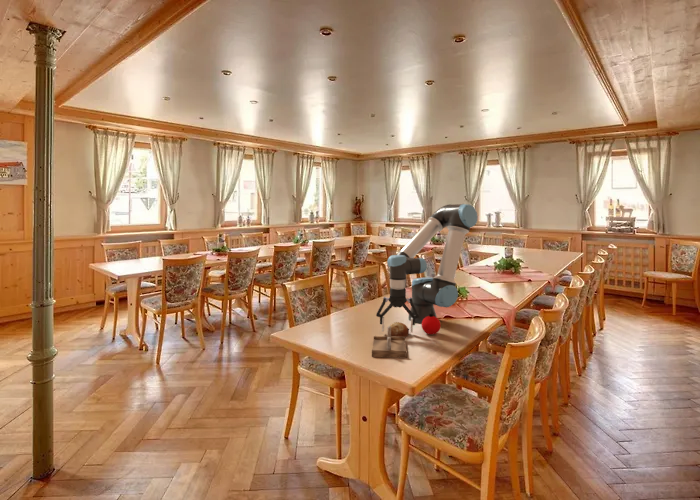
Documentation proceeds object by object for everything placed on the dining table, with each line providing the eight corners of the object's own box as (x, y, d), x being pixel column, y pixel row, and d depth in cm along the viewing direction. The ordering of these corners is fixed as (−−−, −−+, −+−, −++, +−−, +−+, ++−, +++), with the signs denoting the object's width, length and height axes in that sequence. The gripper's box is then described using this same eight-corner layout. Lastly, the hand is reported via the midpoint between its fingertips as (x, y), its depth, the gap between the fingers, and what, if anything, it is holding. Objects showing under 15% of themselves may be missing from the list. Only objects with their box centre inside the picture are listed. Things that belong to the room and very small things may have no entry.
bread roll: (389, 338, 190) (382, 324, 189) (408, 329, 190) (401, 315, 189) (393, 345, 180) (386, 331, 179) (413, 336, 180) (406, 321, 179)
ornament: (439, 338, 179) (439, 317, 178) (419, 336, 182) (420, 315, 181) (441, 332, 188) (441, 312, 187) (423, 330, 191) (423, 310, 190)
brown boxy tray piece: (404, 342, 173) (404, 326, 173) (406, 357, 156) (406, 339, 155) (373, 341, 175) (373, 325, 174) (371, 356, 157) (371, 338, 156)
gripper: (423, 286, 185) (422, 329, 187) (371, 285, 187) (371, 328, 189) (425, 289, 177) (424, 334, 179) (371, 288, 180) (370, 332, 182)
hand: (397, 331), depth 184 cm, fingers open, 13 cm apart
